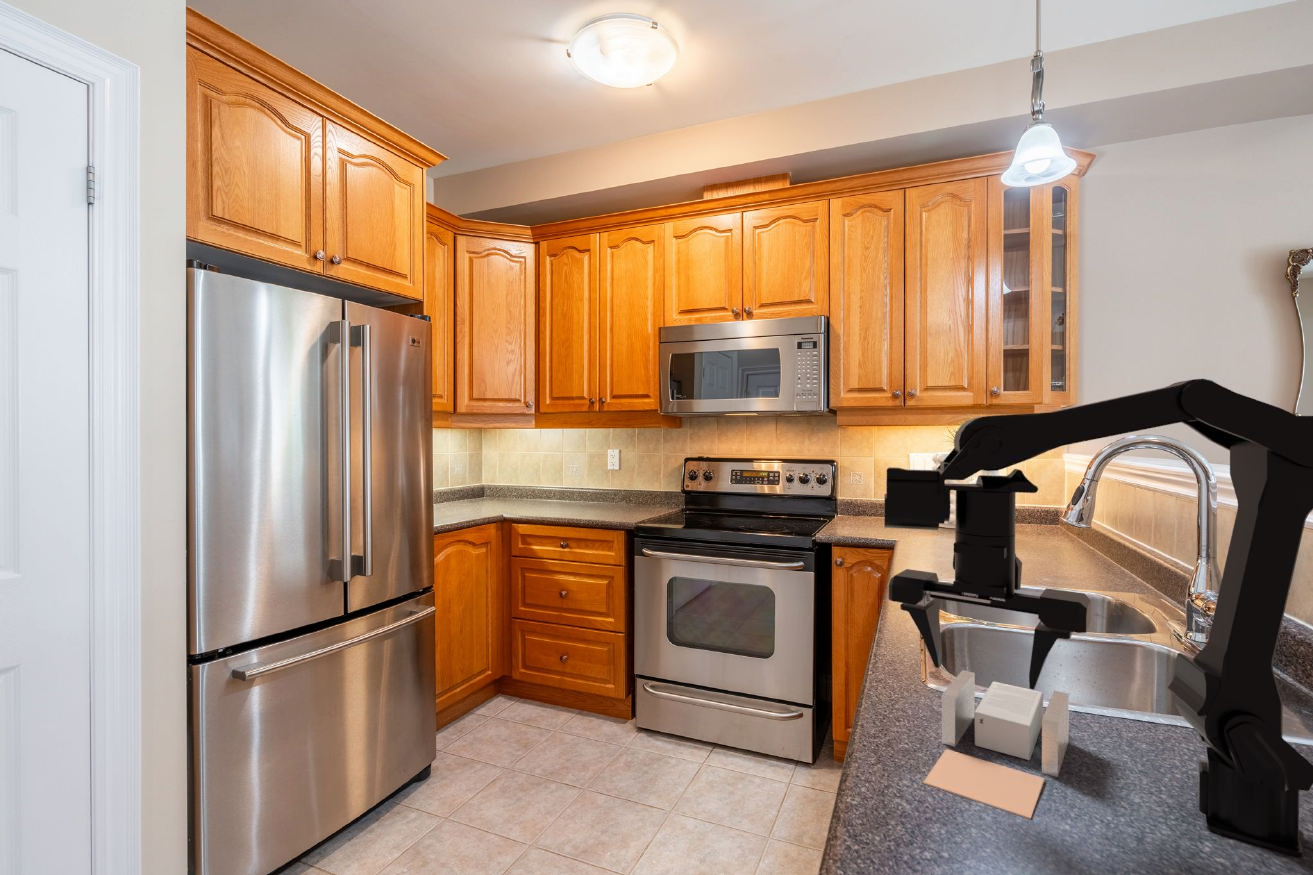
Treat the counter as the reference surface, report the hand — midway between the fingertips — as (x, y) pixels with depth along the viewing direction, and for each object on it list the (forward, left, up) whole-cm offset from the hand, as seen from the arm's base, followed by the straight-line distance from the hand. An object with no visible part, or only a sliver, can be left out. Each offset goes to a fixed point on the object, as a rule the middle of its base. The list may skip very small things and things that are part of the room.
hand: (983, 677), depth 68 cm
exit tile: (0, 0, -12) cm, 12 cm away
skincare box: (0, -20, -9) cm, 23 cm away
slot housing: (0, -12, -12) cm, 16 cm away
